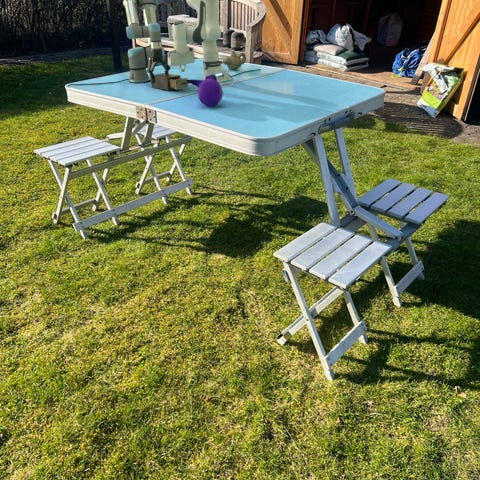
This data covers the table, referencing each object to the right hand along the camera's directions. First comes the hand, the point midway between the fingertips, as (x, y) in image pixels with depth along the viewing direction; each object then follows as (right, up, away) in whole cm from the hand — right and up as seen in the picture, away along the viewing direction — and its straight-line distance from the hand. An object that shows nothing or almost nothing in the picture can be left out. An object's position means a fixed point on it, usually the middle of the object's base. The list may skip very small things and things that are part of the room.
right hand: (182, 71), depth 297 cm
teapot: (+34, +29, +75) cm, 87 cm away
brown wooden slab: (-14, -4, +19) cm, 24 cm away
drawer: (-6, -7, +11) cm, 14 cm away
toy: (+18, -28, -23) cm, 41 cm away
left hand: (-19, +1, +22) cm, 29 cm away
